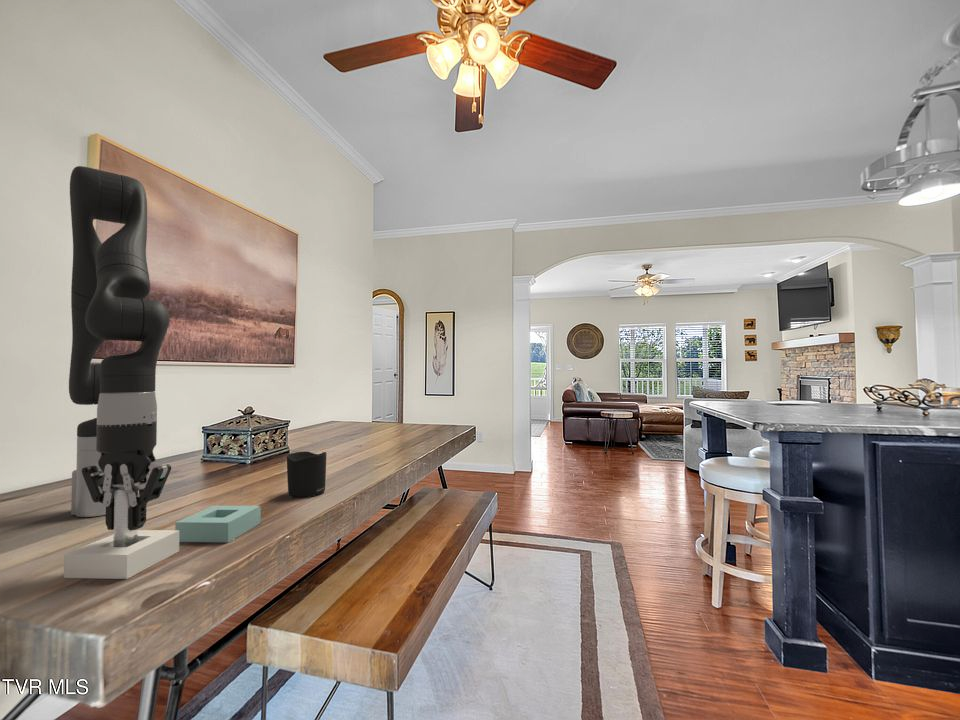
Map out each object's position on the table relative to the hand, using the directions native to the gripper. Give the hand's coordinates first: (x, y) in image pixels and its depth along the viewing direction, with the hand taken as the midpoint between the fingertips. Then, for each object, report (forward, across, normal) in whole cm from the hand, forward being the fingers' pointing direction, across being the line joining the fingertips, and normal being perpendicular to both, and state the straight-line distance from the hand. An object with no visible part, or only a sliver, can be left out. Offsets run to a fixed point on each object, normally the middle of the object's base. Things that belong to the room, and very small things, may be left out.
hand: (126, 527), depth 68 cm
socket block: (+6, 0, 0) cm, 6 cm away
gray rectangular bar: (+6, 0, 0) cm, 6 cm away
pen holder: (+6, +10, +41) cm, 43 cm away
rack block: (+6, +6, +14) cm, 16 cm away
